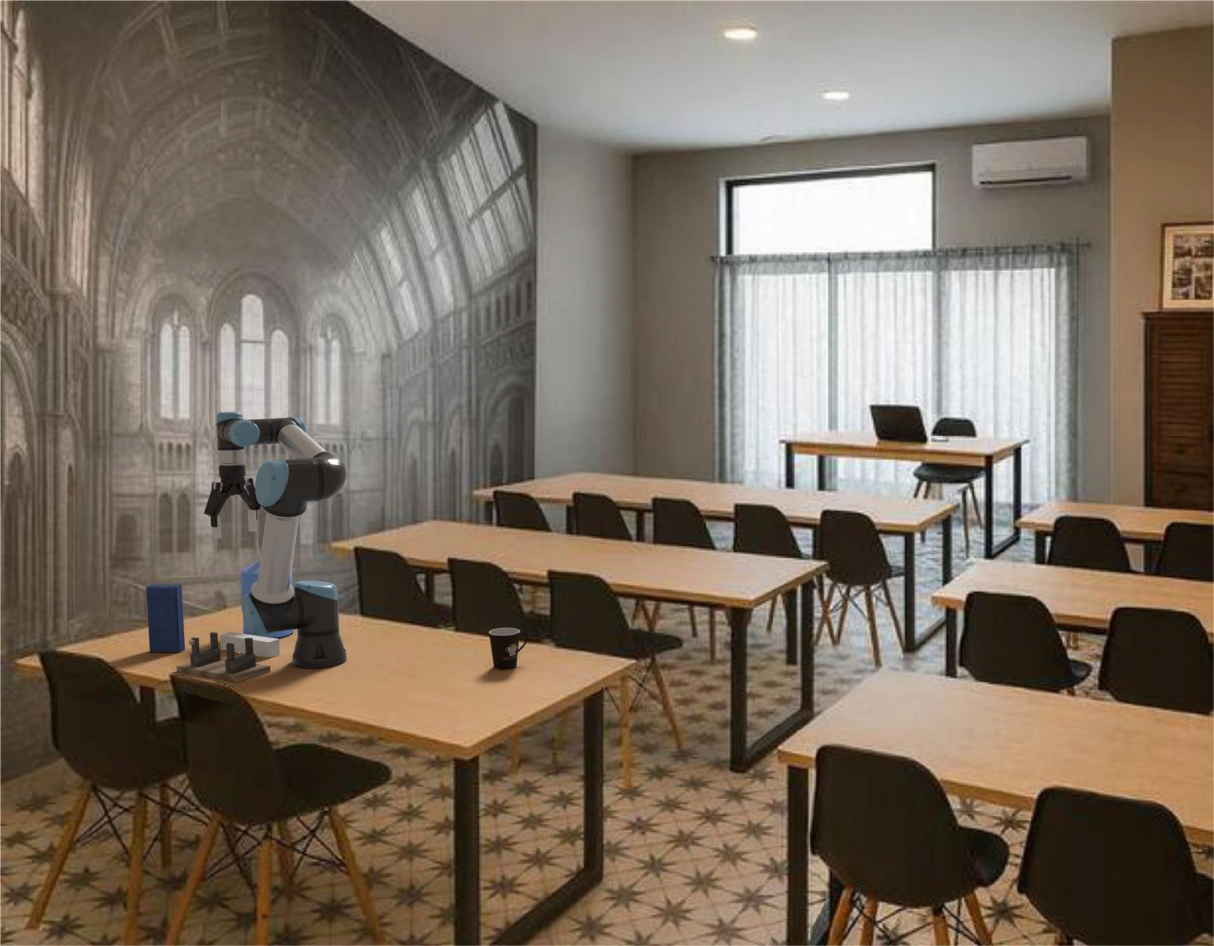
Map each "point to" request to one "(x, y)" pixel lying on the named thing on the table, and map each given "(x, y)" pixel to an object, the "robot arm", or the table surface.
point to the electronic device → (165, 617)
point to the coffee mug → (505, 647)
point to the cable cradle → (222, 661)
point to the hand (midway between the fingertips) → (235, 534)
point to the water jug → (247, 580)
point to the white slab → (260, 644)
